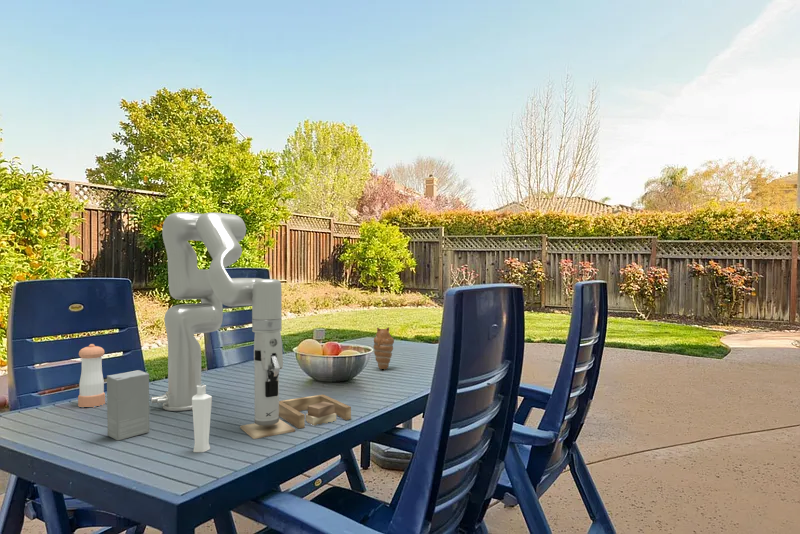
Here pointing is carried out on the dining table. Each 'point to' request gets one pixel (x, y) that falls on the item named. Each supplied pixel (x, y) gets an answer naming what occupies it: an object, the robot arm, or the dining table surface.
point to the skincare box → (127, 404)
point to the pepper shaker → (91, 377)
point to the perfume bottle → (201, 418)
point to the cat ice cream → (383, 347)
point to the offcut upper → (321, 409)
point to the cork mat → (267, 429)
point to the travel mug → (264, 405)
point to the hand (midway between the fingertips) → (267, 393)
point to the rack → (296, 418)
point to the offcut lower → (320, 419)
